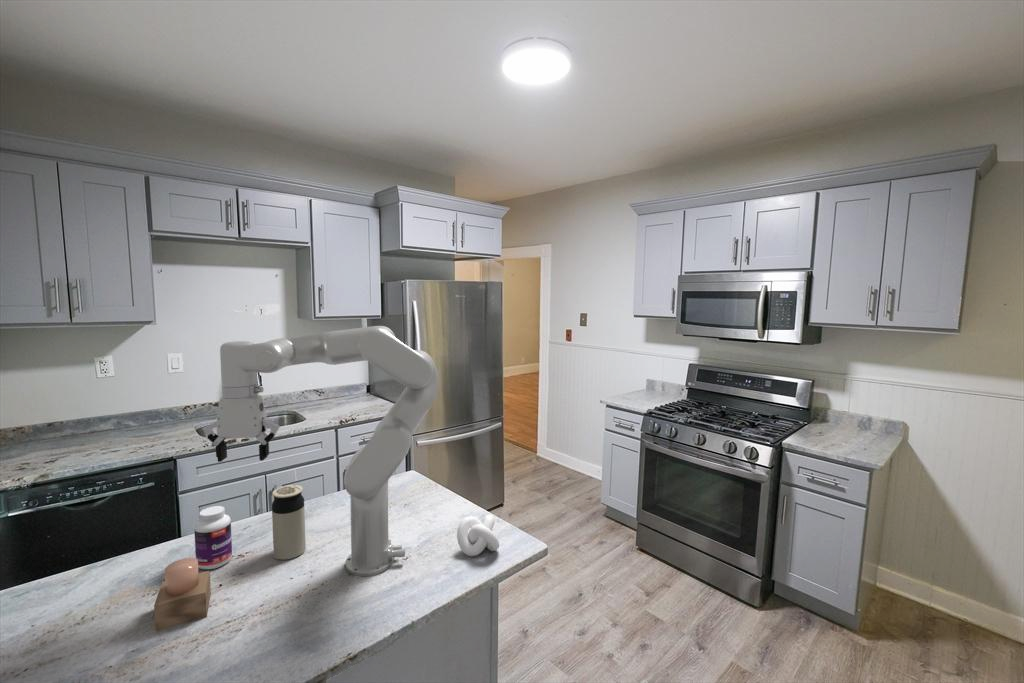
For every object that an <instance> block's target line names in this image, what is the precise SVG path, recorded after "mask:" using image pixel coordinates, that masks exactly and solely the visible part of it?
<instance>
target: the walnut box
mask: <svg viewBox="0 0 1024 683" xmlns="http://www.w3.org/2000/svg"><path fill="white" fill-rule="evenodd" d="M198 573H199V584H198V585H197V586H196V587H195V588H194V589H192V590H191V591H189V592H186V593H184V594H180V595H168V594H166V586H165V580H163V581H162V582H161V585H160V587H159V590H158V593H157V596H156V598H155V602H154V605H153V609H154V624H155V632H158V631H161V630H165V629H168V628H172V627H176V626H180V625H182V624H183V625H184V624H186V623H189V622H193V621H198V620H200V619H205V618H207V617H208V612H209V607H210V606H209V605H210V600H211V596H212V588H211V571H210V570H207V571H206V570H205V571H202V572H198Z"/></svg>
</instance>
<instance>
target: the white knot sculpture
mask: <svg viewBox="0 0 1024 683" xmlns="http://www.w3.org/2000/svg"><path fill="white" fill-rule="evenodd" d="M494 525H495V517H494V515H493V514H491V513H490V514H486V515H485V516H484V517H483V518H481V520H480V519H478V518H477V517H475V516H466V517H464V518H463V519H462V520H461V521H460V522H459V524H458V527H457V533H456V538H457V542H458V547H459V548H460V550H461V551H462V552H463V553H464V555H466V556H469V557H476V556H479V555H481V553H482V552H483V551H484V550H485V548H486V549H487V550H488V551H491V552H496V551H497V550H498V549H499V547H500V541H499V538H498V537H497V535H495V534H496V533H494V531H493V528H494Z"/></svg>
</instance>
